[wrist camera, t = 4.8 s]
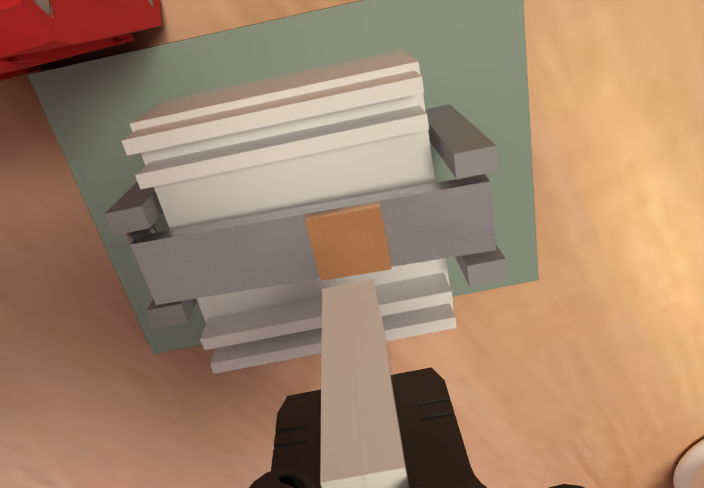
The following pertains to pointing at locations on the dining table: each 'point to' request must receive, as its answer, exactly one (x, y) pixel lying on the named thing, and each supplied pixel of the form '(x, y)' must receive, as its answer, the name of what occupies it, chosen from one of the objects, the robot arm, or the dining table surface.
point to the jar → (691, 468)
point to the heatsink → (304, 154)
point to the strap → (318, 240)
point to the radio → (66, 29)
